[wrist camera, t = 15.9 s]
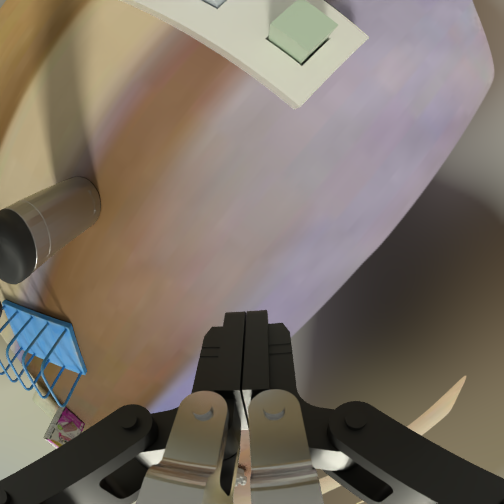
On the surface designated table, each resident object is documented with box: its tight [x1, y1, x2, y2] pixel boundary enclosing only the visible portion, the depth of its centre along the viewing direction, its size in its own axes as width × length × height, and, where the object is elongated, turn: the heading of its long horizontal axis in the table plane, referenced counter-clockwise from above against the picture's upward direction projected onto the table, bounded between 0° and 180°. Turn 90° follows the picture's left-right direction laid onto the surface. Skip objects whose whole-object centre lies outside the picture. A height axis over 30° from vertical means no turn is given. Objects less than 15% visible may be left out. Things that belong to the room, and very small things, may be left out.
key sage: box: [268, 0, 338, 65], centre depth 25 cm, size 5×5×10 cm
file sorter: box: [0, 300, 87, 407], centre depth 49 cm, size 25×17×15 cm
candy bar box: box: [44, 406, 85, 449], centre depth 67 cm, size 11×5×16 cm, turn 24°
